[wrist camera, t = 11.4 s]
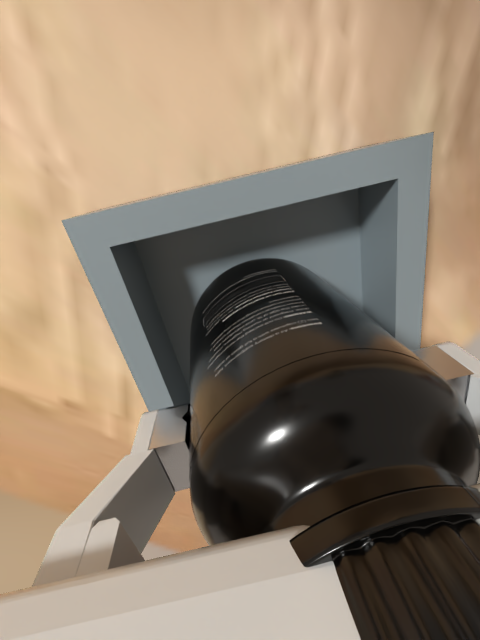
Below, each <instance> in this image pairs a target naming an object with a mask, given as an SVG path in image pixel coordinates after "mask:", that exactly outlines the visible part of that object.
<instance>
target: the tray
mask: <svg viewBox="0 0 480 640" xmlns="http://www.w3.org/2000/svg"><path fill="white" fill-rule="evenodd" d="M433 133H434V132H431V133H426V134H421V135H416V136H411V137H406V138H401V139H397V140H392V141H387V142H382V143H377V144H373V145H368V146H364V147H360V148H356V149H352V150H347V151H343V152H339V153H335V154H331V155H327V156H322V157H318V158H314V159H310V160H306V161H301V162H297V163H293V164H289V165H285V166H280V167H276V168H272V169H268V170H264V171H259V172H255V173H251V174H247V175H243V176H238V177H234V178H230V179H226V180H222V181H218V182H213V183H209V184H205V185H201V186H197V187H192V188H188V189H184V190H180V191H176V192H171V193H167V194H163V195H159V196H155V197H150V198H146V199H142V200H138V201H134V202H130V203H125V204H121V205H117V206H113V207H109V208H104V209H100V210H97V211H93V212H90V213H86V214H83V215H79V216H76V217H72V218H69V219H65V220H62V223H63V225H64V227H65V229H66V232H67V234H68V236H69V238H70V240H71V243H72V245H73V247H74V249H75V251H76V253H77V256H78V258H79V260H80V262H81V264H82V267H83V269H84V271H85V273H86V275H87V277H88V280H89V282H90V284H91V286H92V288H93V291H94V293H95V295H96V297H97V299H98V301H99V304H100V306H101V308H102V310H103V312H104V314H105V317H106V319H107V321H108V323H109V325H110V328H111V330H112V332H113V334H114V336H115V338H116V341H117V343H118V345H119V347H120V349H121V352H122V354H123V356H124V358H125V360H126V362H127V365H128V367H129V369H130V371H131V373H132V376H133V378H134V380H135V382H136V384H137V386H138V389H139V391H140V393H141V395H142V397H143V400H144V402H145V404H146V406H147V408H148V410H149V411H153V410H159V409H162V408H167V407H171V406H176V405H181V404H186V403H190V331H191V321H192V316H193V312H194V309H195V307H196V304H197V302H198V300H199V298H200V297H201V295H202V293H203V292H204V291H205V289H206V288H207V287H208V286H209V285H210V284H211V283H212V281H213V280H215V279H216V278H217V277H218V276H219V275H221V274H222V273H223V272H225V271H226V270H228V269H230V268H232V267H234V266H236V265H238V264H240V263H243V262H246V261H250V260H254V259H261V258H278V259H285V260H289V261H292V262H295V263H297V264H300V265H302V266H304V267H305V268H307V269H309V270H310V271H312V272H313V273H315V274H316V275H317V276H319V277H320V278H321V279H322V280H324V281H325V282H326V283H327V284H328V285H330V286H331V287H332V288H333V289H335V290H336V291H337V292H338V293H340V294H341V295H342V296H343V297H345V298H346V299H347V300H348V301H350V302H351V303H352V304H353V305H355V306H356V307H357V308H358V309H359V310H361V311H362V312H363V313H364V314H366V315H367V316H368V317H369V318H371V319H372V320H373V321H374V322H376V323H377V324H378V325H379V326H381V327H382V328H383V329H384V330H386V331H387V332H388V333H389V334H390V335H392V336H393V337H394V338H395V339H397V340H398V341H399V342H400V343H402V344H403V345H404V346H405V347H407V348H408V349H409V350H410V351H413V350H417V349H420V342H421V326H422V310H423V294H424V278H425V262H426V246H427V230H428V214H429V198H430V182H431V165H432V149H433Z"/></svg>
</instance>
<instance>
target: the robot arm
mask: <svg viewBox="0 0 480 640" xmlns="http://www.w3.org/2000/svg"><path fill="white" fill-rule="evenodd" d="M412 352H413V353H414V354H415V355H417V356H418V357H419V358H420V359H421V360H423V361H424V362H425V363H426V364H428V365H429V366H430V367H431V368H432V369H434V370H435V371H436V372H437V373H438V374H440V375H441V376H442V377H443V378H444V379H445V380H446V381H447V382H449V383H450V384H451V385H452V386H453V387H454V389H455V390H456V391H457V392H458V393H459V395H460V396H461V397H462V399H463V400H464V402H465V404H466V405H467V407H468V409H469V411H470V413H471V416H472V418H473V421H474V423H475V426H476V429H477V433H478V435H480V360H479V359H477V358H476V357H474V356H473V355H471V354H470V353H468V352H467V351H465V350H464V349H462V348H461V347H459V346H458V345H456V344H455V343H453V342H444V343H440V344H436V345H432V346H430V347H426V348H422V349H417V350H413V351H412ZM189 440H190V403H186V404H181V405H176V406H171V407H167V408H162V409H159V410H153V411H149V412H144V413H143V414H142V416H141V418H140V422H139V425H138V429H137V432H136V436H135V439H134V443H133V446H132V450H131V453H130V455H126V456H125V457H124V458H123V459H122V460H121V461H120V462H119V463H118V464H117V465H116V466H115V467H114V468H113V470H112V471H111V472H110V473H109V474H108V475H107V476H106V477H105V478H104V479H103V480H102V481H101V482H100V483H99V485H98V486H97V487H96V488H95V489H94V490H93V491H92V492H91V493H90V494H89V495H88V496H87V497H86V498H85V500H84V501H83V502H82V503H81V504H80V505H79V506H78V507H77V508H76V509H75V510H74V511H73V512H72V513H71V515H70V516H69V517H68V518H67V519H66V520H65V521H64V522H63V523H62V524H61V525H60V526H59V528H57V530H56V532H55V534H54V537H53V539H52V541H51V543H50V546H49V548H48V550H47V553H46V555H45V557H44V559H43V562H42V564H41V566H40V569H39V571H38V574H37V576H36V578H35V580H34V583H33V585H32V587H30V588H25V589H21V590H17V591H12V592H8V593H4V594H0V640H361V639H360V636H359V634H358V631H357V628H356V625H355V623H354V620H353V617H352V614H351V612H350V609H349V606H348V603H347V601H346V598H345V595H344V592H343V590H342V587H341V584H340V581H339V578H338V575H337V572H336V569H335V566H334V563H333V561H330V562H326V563H323V564H319V565H316V566H312V567H304V566H303V564H302V563H301V562H300V560H299V558H298V556H297V555H296V553H295V551H294V549H293V548H292V546H291V544H290V542H289V540H291V539H292V538H293V537H295V536H296V535H298V534H299V533H301V532H302V531H304V530H305V529H307V528H308V527H310V526H305V525H301V526H293V527H289V528H285V529H280V530H276V531H272V532H267V533H263V534H259V535H254V536H250V537H246V538H241V539H237V540H233V541H228V542H224V543H220V544H215V545H211V546H207V547H202V548H198V549H194V550H189V551H185V552H181V553H176V554H172V555H168V556H164V557H159V558H155V559H151V560H146V561H145V560H144V558H143V557H142V555H141V553H142V551H143V549H144V548H145V546H146V544H147V542H148V541H149V539H150V537H151V535H152V533H153V532H154V530H155V528H156V526H157V525H158V523H159V521H160V519H161V518H162V516H163V514H164V512H165V510H166V509H167V507H168V505H169V503H170V502H171V500H172V498H173V496H174V495H175V492H176V491H179V490H183V489H187V488H190V480H189ZM468 487H473V488H477V489H478V490H479V492H480V484H475V485H471V486H468ZM476 521H477V522H478V523H479V524H480V519H477V520H476Z"/></svg>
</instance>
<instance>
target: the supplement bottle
mask: <svg viewBox="0 0 480 640" xmlns="http://www.w3.org/2000/svg"><path fill="white" fill-rule="evenodd" d="M479 471H480V443H479V438H478V433H477V429H476V426H475V423H474V421H473V418H472V416H471V413H470V411H469V409H468V407H467V405H466V404H465V402H464V400H463V399H462V397H461V396H460V395H459V393H458V392H457V391H456V390H455V389H454V387H453V386H452V385H451V384H450V383H449V382H447V381H446V380H445V379H444V378H443V377H442V376H441V375H440V374H438V373H437V372H436V371H435V370H434V369H432V368H431V367H430V366H429V365H428V364H426V363H425V362H424V361H423V360H421V359H420V358H419V357H418V356H417V355H415V354H414V353H413V352H412V351H410V350H409V349H408V348H407V347H405V346H404V345H403V344H402V343H400V342H399V341H398V340H397V339H395V338H394V337H393V336H392V335H390V334H389V333H388V332H387V331H386V330H384V329H383V328H382V327H381V326H379V325H378V324H377V323H376V322H374V321H373V320H372V319H371V318H369V317H368V316H367V315H366V314H364V313H363V312H362V311H361V310H359V309H358V308H357V307H356V306H355V305H353V304H352V303H351V302H350V301H348V300H347V299H346V298H345V297H343V296H342V295H341V294H340V293H338V292H337V291H336V290H335V289H333V288H332V287H331V286H330V285H328V284H327V283H326V282H325V281H324V280H322V279H321V278H320V277H319V276H317V275H316V274H315V273H313V272H312V271H310V270H309V269H307V268H305V267H304V266H302V265H300V264H297V263H295V262H292V261H289V260H285V259H278V258H261V259H254V260H250V261H246V262H243V263H240V264H238V265H236V266H234V267H232V268H230V269H228V270H226V271H225V272H223V273H222V274H221V275H219V276H218V277H217V278H216V279H215V280H213V281H212V283H211V284H210V285H209V286H208V287H207V288H206V289H205V291H204V292H203V293H202V295H201V297H200V298H199V300H198V302H197V304H196V307H195V309H194V312H193V316H192V321H191V331H190V440H189V480H190V496H191V504H192V509H193V513H194V516H195V519H196V522H197V524H198V526H199V528H200V531H201V533H202V534H203V536H204V538H205V540H206V541H207V543H208V544H209V546H211V545H215V544H220V543H224V542H228V541H233V540H237V539H241V538H246V537H250V536H254V535H259V534H263V533H267V532H272V531H276V530H280V529H285V528H289V527H293V526H301V525H305V526H310V527H308V528H307V529H305V530H304V531H302V532H301V533H299V534H298V535H296V536H295V537H293V538H292V539H291V540H289V542H290V544H291V546H292V548H293V549H294V551H295V553H296V555H297V556H298V558H299V560H300V562H301V563H302V564H303V566H304V567H312V566H316V565H319V564H323V563H326V562H330V561H333V563H334V566H335V569H336V572H337V575H338V578H339V581H340V584H341V587H342V590H343V592H344V595H345V598H346V601H347V603H348V606H349V609H350V612H351V614H352V617H353V620H354V623H355V625H356V628H357V631H358V634H359V636H360V639H361V640H480V524H479V523H478V522H477V521H476V520H477V519H480V492H479V490H478V489H477V488H473V487H468V486H471V485H475V484H477V481H478V477H479Z"/></svg>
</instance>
